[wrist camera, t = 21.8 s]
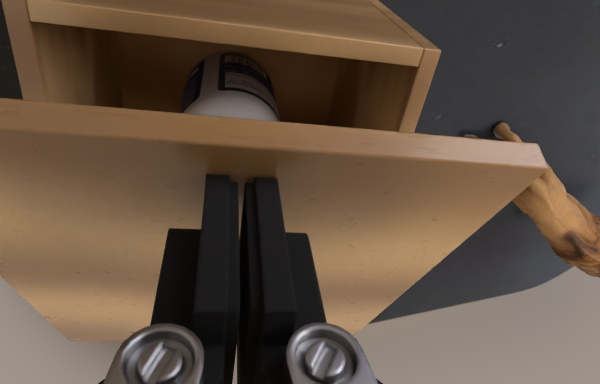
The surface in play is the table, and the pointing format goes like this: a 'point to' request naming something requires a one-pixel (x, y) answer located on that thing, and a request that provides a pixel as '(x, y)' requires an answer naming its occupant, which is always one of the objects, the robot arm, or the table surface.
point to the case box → (226, 37)
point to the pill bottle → (230, 88)
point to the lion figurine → (559, 216)
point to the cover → (240, 168)
